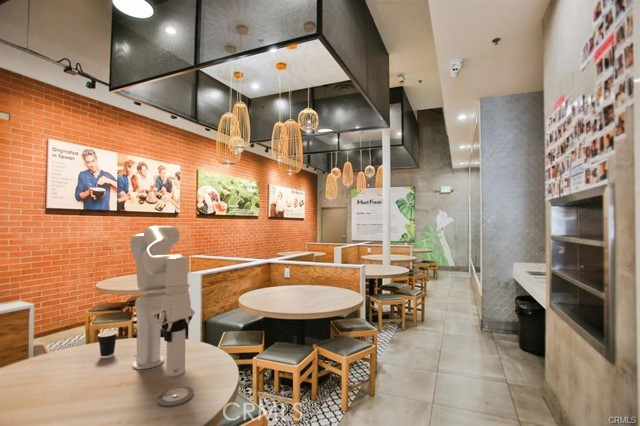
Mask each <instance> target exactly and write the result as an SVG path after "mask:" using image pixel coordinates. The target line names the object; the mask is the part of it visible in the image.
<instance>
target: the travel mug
mask: <svg viewBox="0 0 640 426" xmlns="http://www.w3.org/2000/svg"><path fill="white" fill-rule="evenodd" d="M185 322H186V320H184V319H182V320H179V321H176V322H173V323H172V326H171V329H170V330H171V331H172V341H171V342H167V341H166V368H165V369H166V378H167V379H169V380H172V379H173V380H174V379H179V378H181V377H183V376H184V375H185V374H186V336H185ZM168 324H169V323H168ZM167 326H168V325H167Z"/></svg>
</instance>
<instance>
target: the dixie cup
mask: <svg viewBox="0 0 640 426" xmlns="http://www.w3.org/2000/svg"><path fill="white" fill-rule="evenodd" d="M117 333H118V331H117V330H107V331H102V332H100V333H98V334H97V337H98V343H99V352H100V357H101V359H108V358H112V357H113V356H114V354H115V349H116V341H117V335H118V334H117Z"/></svg>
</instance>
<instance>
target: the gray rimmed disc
mask: <svg viewBox="0 0 640 426" xmlns="http://www.w3.org/2000/svg"><path fill="white" fill-rule="evenodd" d="M193 396H194V389H193V388H192V387H191V386H187V385H185V386H184V385H183V386H182V385H180V386H179V385H178V386H175V387H170V388H167V389H166V390H164V391H162V392H161V393H160V394H159V395H158V396H157V404H158V405H159V406H160V407H163V408H172V407H177V406H180V405H182V404H183V405H184V404H186V403H187V402H189V401H190V400H191V399H192V398H193Z"/></svg>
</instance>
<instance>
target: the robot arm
mask: <svg viewBox="0 0 640 426" xmlns="http://www.w3.org/2000/svg"><path fill="white" fill-rule="evenodd" d="M179 241H180V231H179V229H178V228H177V227H176V226H173V225H153V226H152V225H151V226H149V227H146V229H145V230H144V231H143V233H139V234H135V235H132V236H131V239H130V241H129V245H130V246H129V247H130V252H131V254H132V257H133V259H134V262H135V265H136V266H135V267H136V269H135V270H136V283H137V289H138V290H139V291H140V292H154V293H146V294H143V295H140V296H139V297H137V298H136V300H135V303H134V309H135V315H136V353H134V354H133V357H135V361H133V363H132V368H133V369H135V370H148V369H151V368H152V369H153V368H155V367H158V366H160V365H161V364H162V363H164V361H165V358H164V356H163V355H161V330H162V331H163V338H164V342H166V343H167V342H171V341H172V331H171V330H170V329H171V326H172V323H173V322H176V321H179V320H182V319H184V320H186V322H185V337H186V336H189V325H190V322H191V320H192V318H193V316H194V315H195V313H196V312H195V310H193V308H192V307H191V295H190V292H189V291H188V289H189V288H190V286H191V285H190V284H189V282H188V281H189V279H188V278H189V260H188V257H187V256H184V255H183V254H179V253H175V254H169V253H170V251H171V250H172V248H173V247H174V246H176V245H177V243H179ZM161 290H163V291H164V292H163V291H162V292H155V291H161ZM158 314H159V315H160V316H159V318H157V317H156V316H155V315H158ZM168 323H169V324H168ZM167 325H168V326H167Z"/></svg>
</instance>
